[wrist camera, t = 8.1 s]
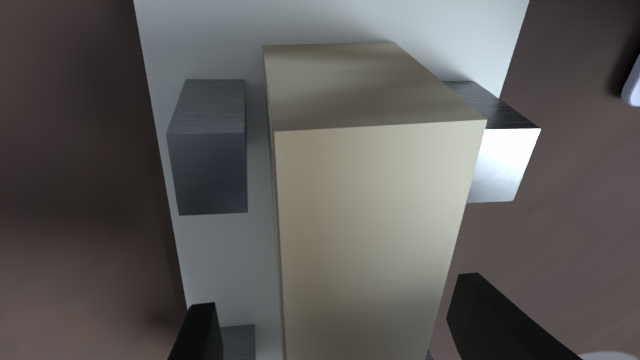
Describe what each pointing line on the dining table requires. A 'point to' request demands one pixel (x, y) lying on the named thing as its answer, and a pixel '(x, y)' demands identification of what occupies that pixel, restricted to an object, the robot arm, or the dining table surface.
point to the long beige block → (363, 196)
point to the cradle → (252, 130)
